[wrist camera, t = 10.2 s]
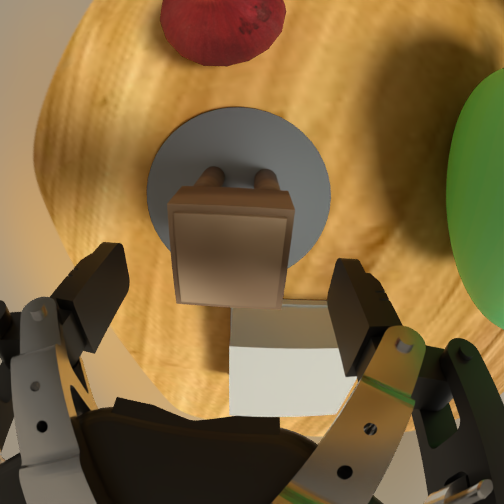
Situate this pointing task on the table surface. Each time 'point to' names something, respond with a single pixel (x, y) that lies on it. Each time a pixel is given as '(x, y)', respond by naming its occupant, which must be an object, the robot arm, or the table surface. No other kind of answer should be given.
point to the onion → (222, 28)
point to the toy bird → (479, 196)
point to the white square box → (285, 362)
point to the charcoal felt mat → (244, 167)
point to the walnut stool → (230, 242)
